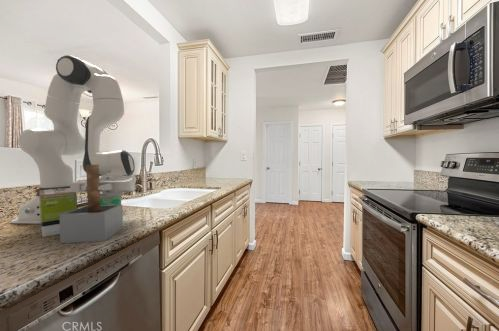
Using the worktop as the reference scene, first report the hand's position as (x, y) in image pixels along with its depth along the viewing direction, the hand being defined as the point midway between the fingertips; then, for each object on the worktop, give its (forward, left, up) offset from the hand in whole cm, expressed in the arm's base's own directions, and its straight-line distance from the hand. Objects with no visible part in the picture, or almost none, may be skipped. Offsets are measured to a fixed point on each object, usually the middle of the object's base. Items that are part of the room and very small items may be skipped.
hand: (92, 188), depth 75 cm
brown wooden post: (0, +1, -12) cm, 12 cm away
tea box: (-17, +10, -16) cm, 26 cm away
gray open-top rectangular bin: (0, +1, -16) cm, 16 cm away
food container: (-9, +36, -16) cm, 41 cm away
